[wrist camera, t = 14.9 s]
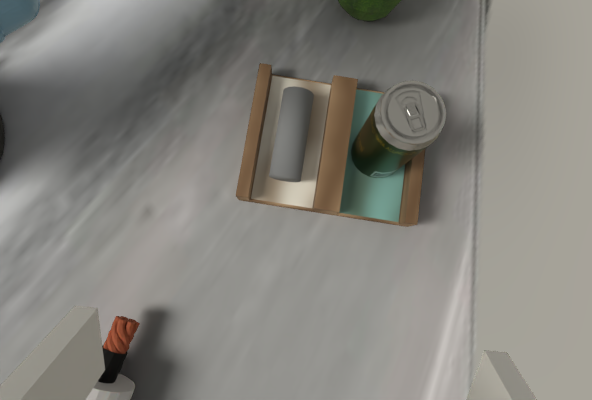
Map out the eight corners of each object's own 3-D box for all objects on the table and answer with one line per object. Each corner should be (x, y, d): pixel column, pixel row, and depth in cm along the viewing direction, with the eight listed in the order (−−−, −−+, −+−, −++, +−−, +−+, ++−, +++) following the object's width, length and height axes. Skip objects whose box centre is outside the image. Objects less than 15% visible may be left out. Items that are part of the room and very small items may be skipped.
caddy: (239, 200, 40) (235, 195, 37) (261, 76, 42) (259, 63, 39) (407, 226, 40) (417, 224, 37) (421, 102, 42) (431, 91, 39)
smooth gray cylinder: (300, 183, 39) (300, 177, 36) (270, 179, 39) (267, 172, 36) (313, 102, 40) (314, 89, 37) (283, 98, 41) (282, 84, 37)
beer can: (406, 172, 40) (459, 136, 28) (358, 185, 39) (390, 155, 27) (391, 124, 40) (435, 70, 28) (343, 137, 40) (368, 87, 28)
